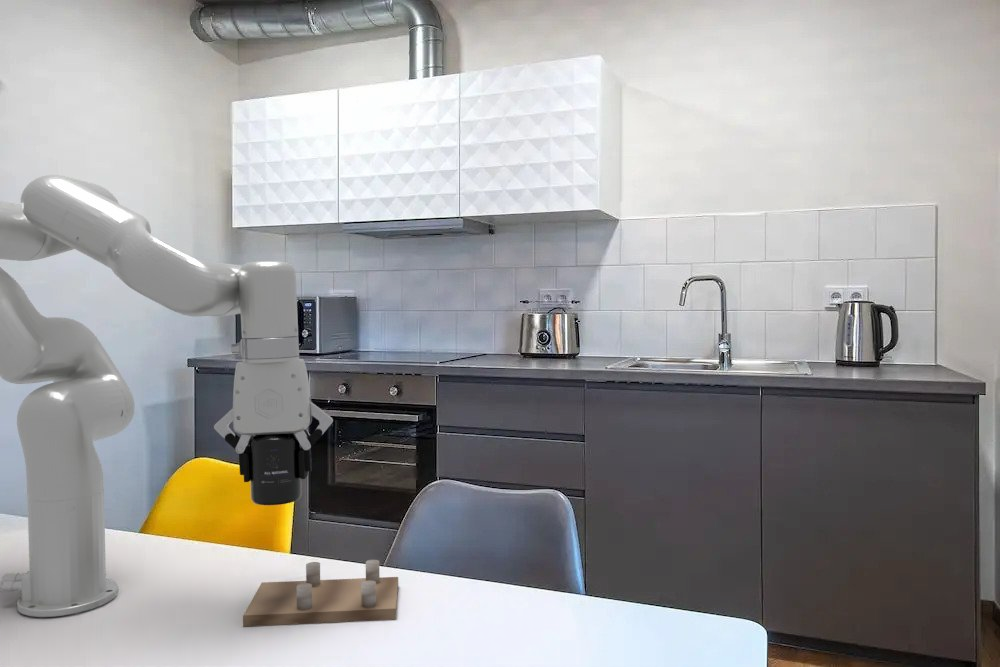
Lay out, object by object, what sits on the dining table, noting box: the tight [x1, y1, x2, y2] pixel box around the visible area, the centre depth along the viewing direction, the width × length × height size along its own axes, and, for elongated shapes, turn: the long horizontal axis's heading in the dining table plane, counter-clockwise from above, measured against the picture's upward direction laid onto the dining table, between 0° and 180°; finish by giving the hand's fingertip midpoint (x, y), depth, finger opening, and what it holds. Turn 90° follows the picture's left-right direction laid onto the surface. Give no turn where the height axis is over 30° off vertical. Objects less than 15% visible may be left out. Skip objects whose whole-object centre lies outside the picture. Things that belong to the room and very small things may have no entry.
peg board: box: [242, 559, 399, 628], centre depth 107 cm, size 20×12×4 cm, turn 96°
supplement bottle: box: [250, 433, 303, 506], centre depth 105 cm, size 7×7×12 cm
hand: (276, 477), depth 106 cm, fingers closed on supplement bottle, 6 cm apart
